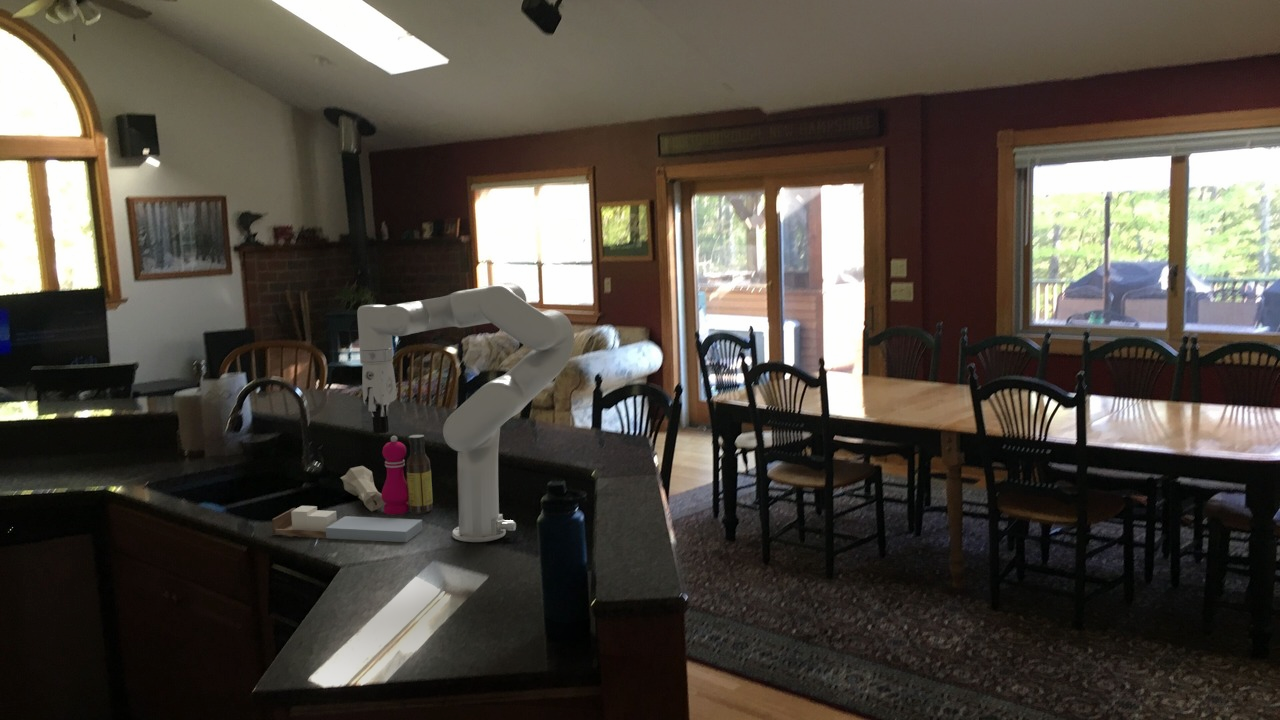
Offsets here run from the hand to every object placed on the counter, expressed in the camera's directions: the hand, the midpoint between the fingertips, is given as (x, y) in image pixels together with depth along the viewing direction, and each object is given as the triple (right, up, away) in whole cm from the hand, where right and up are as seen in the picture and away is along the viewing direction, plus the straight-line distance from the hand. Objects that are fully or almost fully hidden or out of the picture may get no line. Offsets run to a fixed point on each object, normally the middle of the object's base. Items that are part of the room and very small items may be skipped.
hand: (381, 432), depth 236 cm
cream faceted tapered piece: (-12, -21, +28) cm, 37 cm away
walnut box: (-18, -24, +3) cm, 30 cm away
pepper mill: (-1, -22, +19) cm, 29 cm away
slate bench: (-1, -24, 0) cm, 24 cm away
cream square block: (-17, -21, +2) cm, 27 cm away
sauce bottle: (+5, -22, +20) cm, 30 cm away
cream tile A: (-15, -24, +2) cm, 28 cm away
